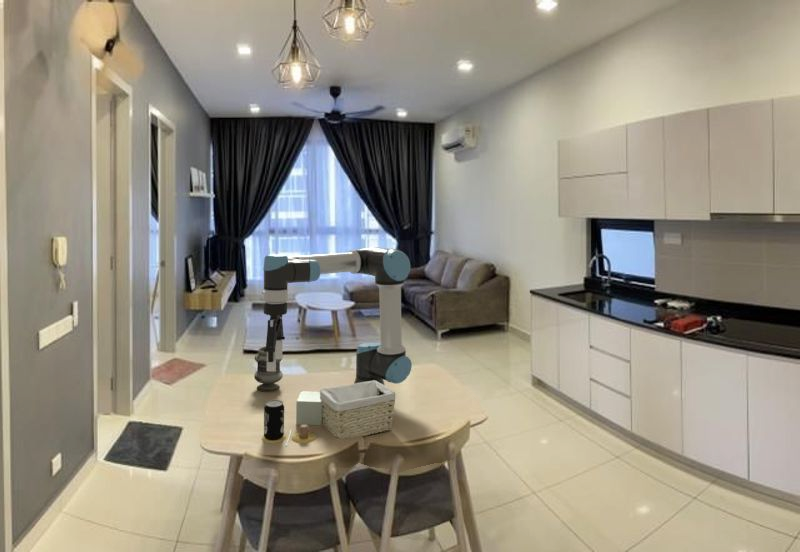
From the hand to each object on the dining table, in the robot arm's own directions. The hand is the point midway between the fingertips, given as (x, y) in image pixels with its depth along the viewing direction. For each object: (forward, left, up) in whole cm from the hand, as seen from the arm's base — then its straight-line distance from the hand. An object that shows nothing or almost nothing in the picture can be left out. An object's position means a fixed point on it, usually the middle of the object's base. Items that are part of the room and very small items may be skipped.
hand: (274, 364), depth 163 cm
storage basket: (-28, -10, -27) cm, 40 cm away
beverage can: (0, 0, -26) cm, 26 cm away
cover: (-15, -15, -22) cm, 31 cm away
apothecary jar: (+11, -51, -27) cm, 59 cm away
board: (-5, 0, -27) cm, 27 cm away
